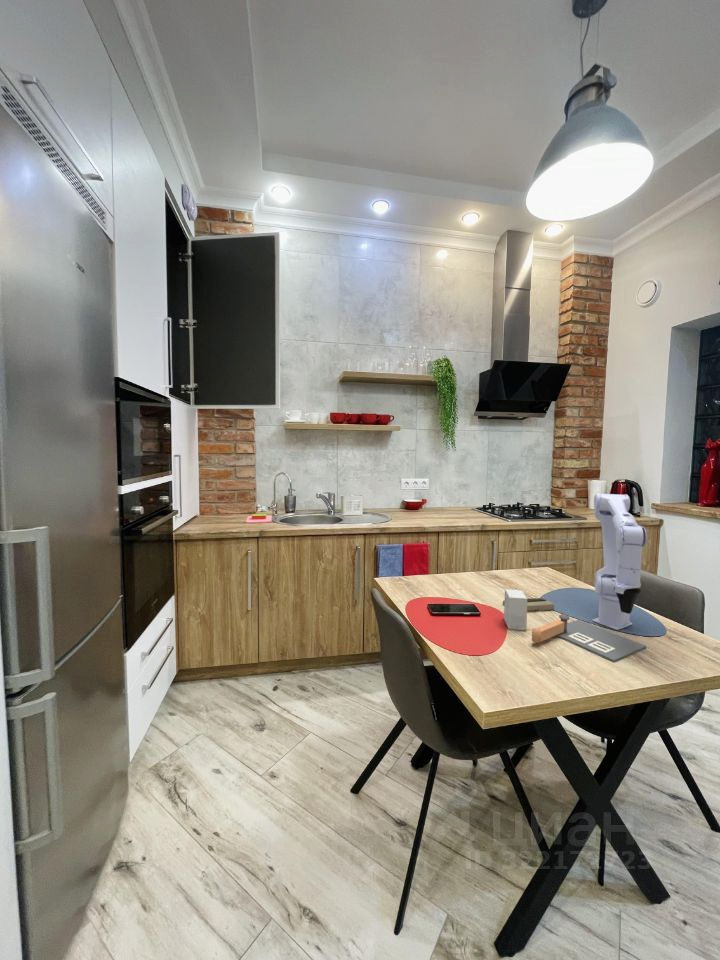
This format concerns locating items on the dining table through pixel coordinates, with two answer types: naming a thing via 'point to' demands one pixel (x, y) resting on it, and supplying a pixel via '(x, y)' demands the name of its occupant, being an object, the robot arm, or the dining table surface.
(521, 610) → the small box
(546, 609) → the brown flat block
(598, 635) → the board
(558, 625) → the swing bar
